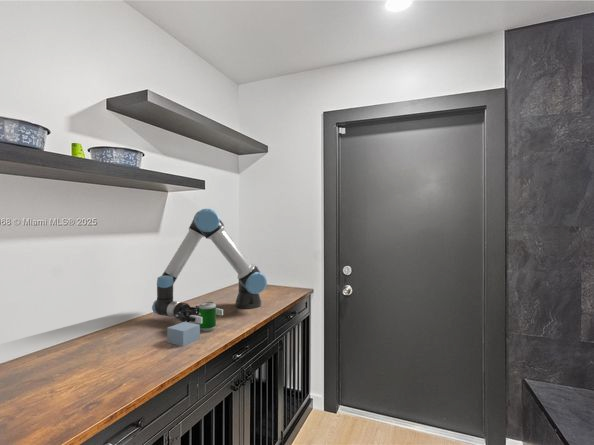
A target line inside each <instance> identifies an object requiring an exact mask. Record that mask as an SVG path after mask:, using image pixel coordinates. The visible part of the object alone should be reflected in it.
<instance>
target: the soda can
mask: <svg viewBox="0 0 594 445" xmlns="http://www.w3.org/2000/svg"><path fill="white" fill-rule="evenodd" d="M198 306H199V314H198V316H200V317H202V324H200V323H198V324H199V325H200V332H204V333H205V332H212V331H214V330H215V328H216V327H217V315H216V308H217V305H216V304H215V302H213V301H203V302H201V303H200V304H199V305H198Z"/></svg>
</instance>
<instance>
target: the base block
mask: <svg viewBox="0 0 594 445" xmlns="http://www.w3.org/2000/svg"><path fill="white" fill-rule="evenodd" d="M166 328H167V330H166V332H167V333H166V334H167V338H166V339H167V341H166V342H167V343H169V344H172V345H175V346H176V345H177V346H181V347H184V346H187V345H189V344H191V343H194V342H196V341H199V340H200V339H201V337H200V336H201V333H200V332H201V330H200V325H199V323H195V322H190V323H189V322H187V321H185V322H179V323H175V325H171V326H168V327H166Z"/></svg>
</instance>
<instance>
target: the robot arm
mask: <svg viewBox="0 0 594 445" xmlns="http://www.w3.org/2000/svg"><path fill="white" fill-rule="evenodd" d="M193 216H194V217H193V219H192V221H191V224H190V225H189V227H188V232H187V233H186V236H184V238H183V240H182V242H181V243H180V245H179V247H178V248H177V250H176V252H175V253H174V255H173V257H172V258H171V260H170V262H169V263H168V265H167V266H166V268H165V270H164V272H163V273H162V275H160V276H158V277H157V278H156V279H157V280H156V299H155V300H154V302H152V306H151V309H152V312H153V313H154V314H156V315H158V316H164V317H170V318H174V319H177V320H179V321H180V323H182V322H189V323H194V324H199V323H200V324H202V317H200V316H199V305H195V306H190V305H189V303H186V302H181V301H175V300H174V285H175V282H176V281H177V279H178V277H179V275H180V274H181V272H182V271H183V269H184V267H185V266H186V265H187V262H188V261H189V259H190V257H191V256H192V255H193V254H192V253H193V252H194V251H195V250H196V247H197V246H198V245H199V242H201V239H202V238H205V239H208V240H211V241H212V243H213V244H214V246H215V247H216V248H217V249H218V251H219V252H220V253H221V254H222V256H223V257H224V258H225V260H226V261H227V262H228V263H229V265H230V266H231V267H232V268H233V269H234V271H235V273H237V279H238V293H237V296H236V301H235V307H236V308H238V309H243V310H244V309H248V310H249V309H256V308H259V307H261V306H262V300H261V295H260V293H262V292H264V291H265V289H266V287H267V283H268V282H267V281H268V280H267V278H266V275H264V274H263V273H262V272H261V271H260V269H259V266H257V265H255V264H254V263H253V264H252V263H250V262H249V260H248V259H247V257H246V256H245V255H244V254H243V252H242V251H241V249H240V248H239V247H238V246H237V244H236V243H235V242H234V240H232V237H230V235H229V234H228V232H227V231H226V230H225V224H224V222H223V221H222V220H221V219H220V216H219V214H218V213H217V211H215V210H214V209H211V208H202V209H201V210H199V211H197V212H196V213H195V214H194V215H193ZM217 315H218V316H223V315H224V309H222V308H217V307H216V316H217Z"/></svg>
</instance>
